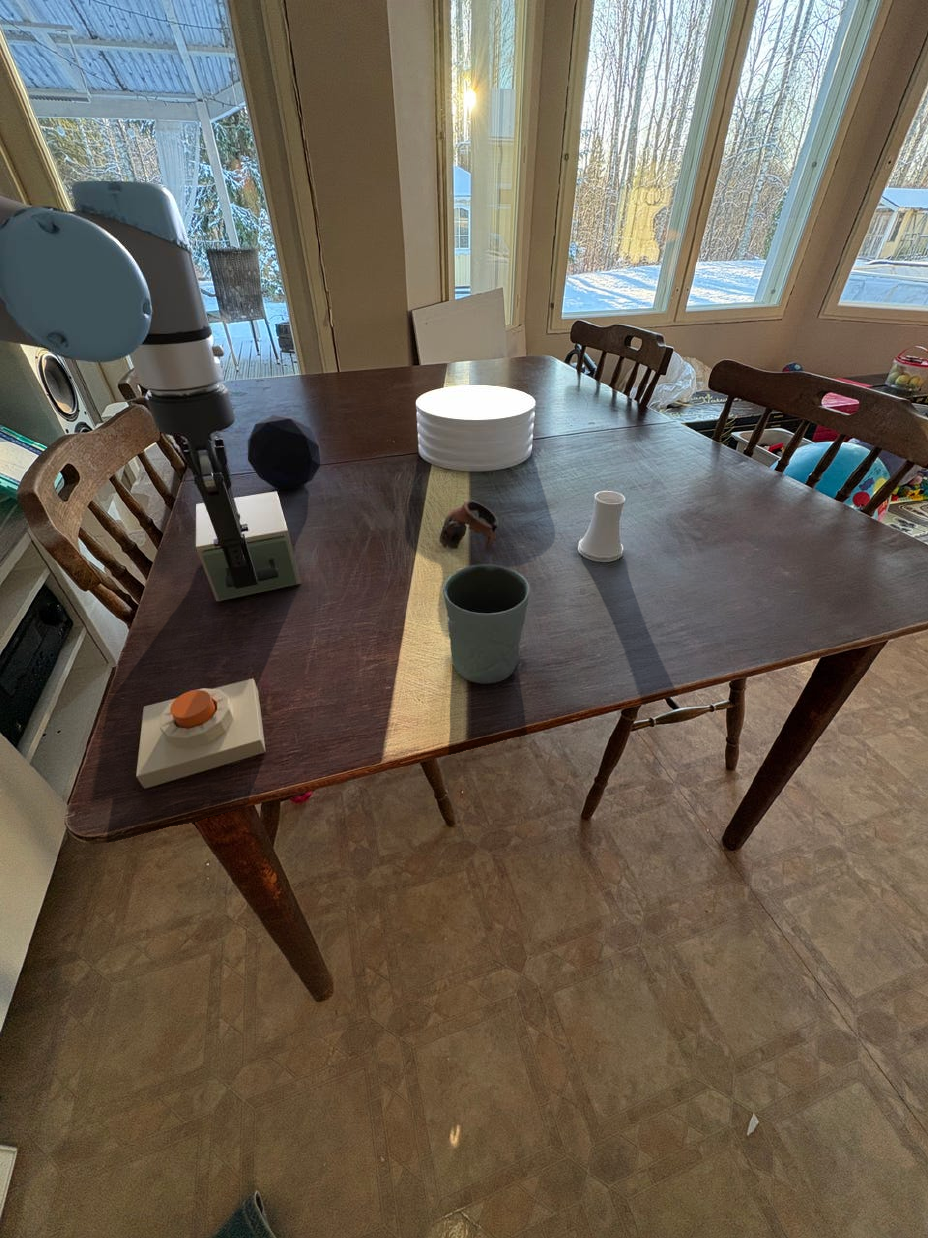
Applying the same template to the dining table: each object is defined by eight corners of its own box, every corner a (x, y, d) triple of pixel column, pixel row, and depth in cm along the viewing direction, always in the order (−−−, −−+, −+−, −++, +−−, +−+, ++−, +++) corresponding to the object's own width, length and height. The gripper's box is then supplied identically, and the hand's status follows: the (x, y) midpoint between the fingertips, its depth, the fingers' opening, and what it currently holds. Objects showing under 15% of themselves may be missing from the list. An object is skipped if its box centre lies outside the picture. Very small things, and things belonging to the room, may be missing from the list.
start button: (175, 733, 54) (169, 722, 52) (176, 706, 56) (170, 695, 55) (216, 722, 55) (211, 711, 54) (215, 696, 58) (210, 685, 56)
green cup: (514, 634, 71) (520, 561, 64) (530, 686, 64) (539, 610, 56) (442, 640, 70) (439, 566, 63) (449, 693, 63) (447, 617, 55)
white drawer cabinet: (300, 583, 81) (287, 530, 75) (216, 601, 78) (195, 546, 72) (289, 540, 92) (276, 490, 86) (214, 555, 88) (195, 503, 82)
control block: (144, 789, 52) (128, 765, 50) (151, 719, 60) (137, 695, 57) (265, 752, 56) (256, 728, 53) (258, 690, 63) (249, 667, 61)
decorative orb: (239, 452, 111) (232, 405, 98) (306, 439, 117) (308, 394, 104) (261, 508, 109) (257, 469, 96) (329, 492, 115) (334, 453, 102)
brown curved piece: (450, 527, 97) (473, 492, 92) (487, 559, 95) (512, 526, 91) (416, 540, 87) (440, 501, 82) (457, 576, 85) (483, 539, 81)
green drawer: (300, 598, 77) (289, 554, 72) (220, 616, 73) (202, 571, 68) (286, 543, 90) (275, 502, 85) (216, 556, 86) (201, 514, 81)
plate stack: (434, 427, 140) (432, 382, 133) (536, 433, 135) (540, 387, 128) (404, 466, 118) (400, 415, 111) (525, 475, 114) (529, 423, 107)
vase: (607, 537, 93) (617, 484, 86) (630, 557, 87) (643, 503, 81) (570, 543, 91) (577, 491, 84) (591, 565, 85) (601, 510, 79)
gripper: (228, 399, 47) (283, 605, 61) (223, 368, 56) (271, 553, 71) (137, 407, 45) (216, 619, 59) (147, 374, 54) (213, 564, 69)
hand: (246, 583), depth 65 cm, fingers closed
